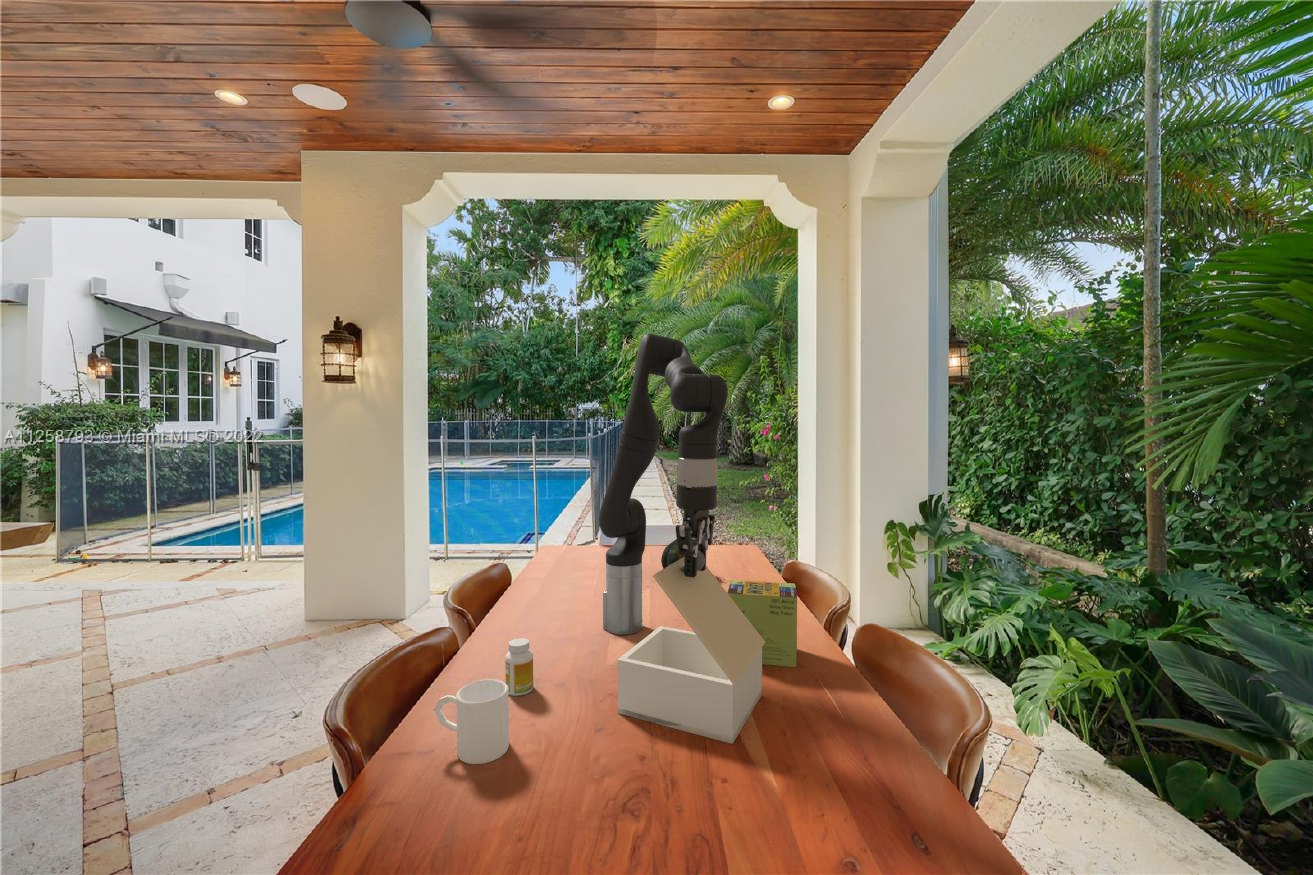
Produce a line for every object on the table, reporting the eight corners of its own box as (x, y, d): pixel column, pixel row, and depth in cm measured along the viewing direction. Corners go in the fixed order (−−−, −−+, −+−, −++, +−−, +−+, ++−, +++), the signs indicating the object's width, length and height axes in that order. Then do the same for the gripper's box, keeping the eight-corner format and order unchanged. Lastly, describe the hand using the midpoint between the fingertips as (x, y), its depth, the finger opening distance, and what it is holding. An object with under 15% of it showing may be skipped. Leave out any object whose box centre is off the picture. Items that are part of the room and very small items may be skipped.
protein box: (797, 668, 120) (797, 597, 119) (726, 662, 123) (726, 592, 122) (795, 648, 130) (795, 582, 129) (729, 643, 133) (729, 579, 132)
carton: (617, 713, 101) (617, 659, 101) (660, 672, 118) (660, 626, 117) (732, 744, 92) (732, 685, 91) (761, 695, 108) (762, 644, 107)
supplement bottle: (538, 685, 112) (538, 638, 112) (523, 698, 107) (523, 649, 106) (515, 681, 114) (515, 635, 113) (500, 694, 109) (499, 645, 108)
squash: (650, 565, 182) (680, 532, 181) (657, 555, 197) (685, 525, 195) (681, 595, 180) (712, 562, 179) (687, 583, 195) (715, 552, 194)
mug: (444, 735, 95) (443, 678, 94) (514, 735, 95) (513, 678, 94) (424, 765, 87) (423, 703, 86) (501, 764, 87) (500, 703, 86)
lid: (652, 576, 97) (675, 556, 95) (691, 553, 113) (711, 536, 111) (733, 684, 91) (759, 666, 89) (762, 644, 107) (785, 627, 105)
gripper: (693, 476, 111) (691, 561, 111) (662, 485, 98) (660, 580, 99) (728, 479, 107) (726, 566, 108) (701, 488, 94) (699, 587, 95)
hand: (695, 572), depth 103 cm, fingers closed on lid, 4 cm apart
